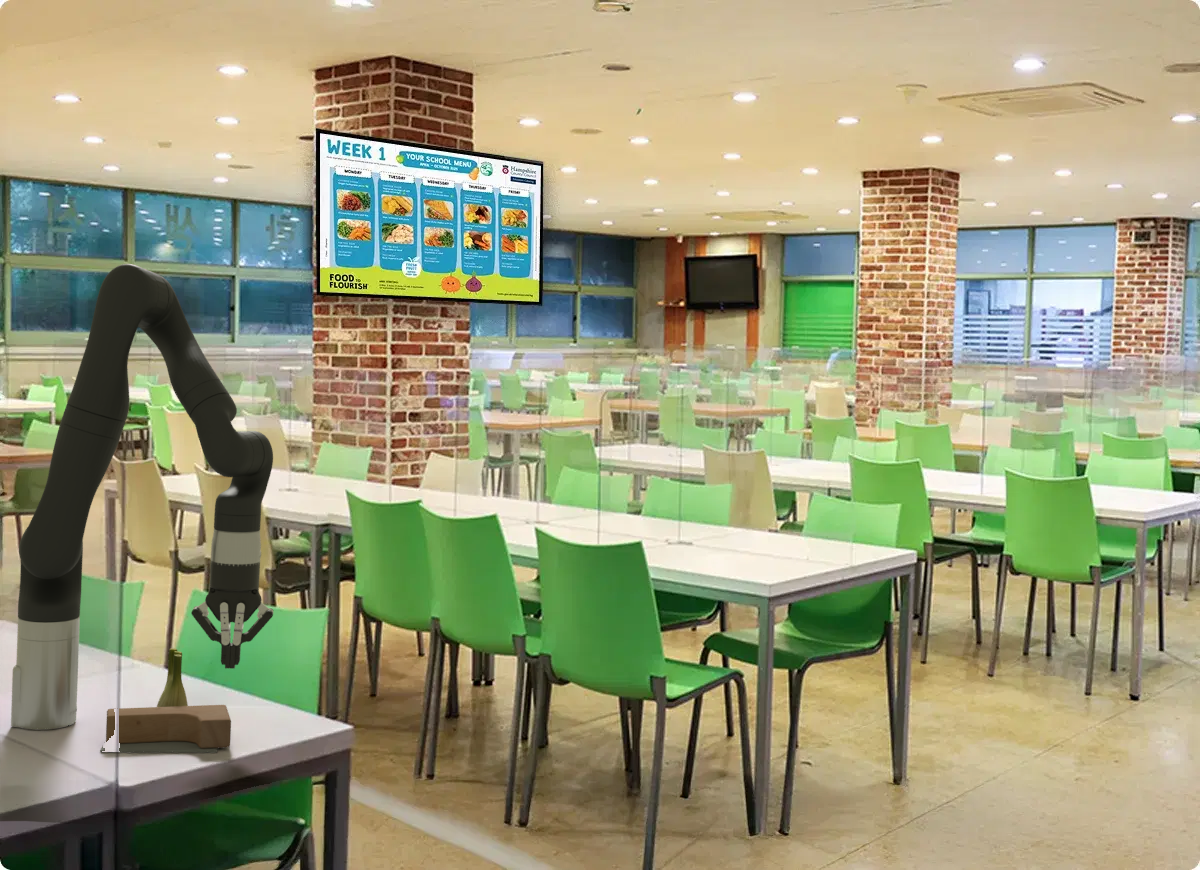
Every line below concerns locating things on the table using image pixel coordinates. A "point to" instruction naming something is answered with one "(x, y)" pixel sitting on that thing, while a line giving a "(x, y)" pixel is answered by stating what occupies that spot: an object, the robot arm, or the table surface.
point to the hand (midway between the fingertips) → (230, 667)
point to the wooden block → (173, 725)
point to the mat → (163, 747)
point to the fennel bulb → (173, 683)
